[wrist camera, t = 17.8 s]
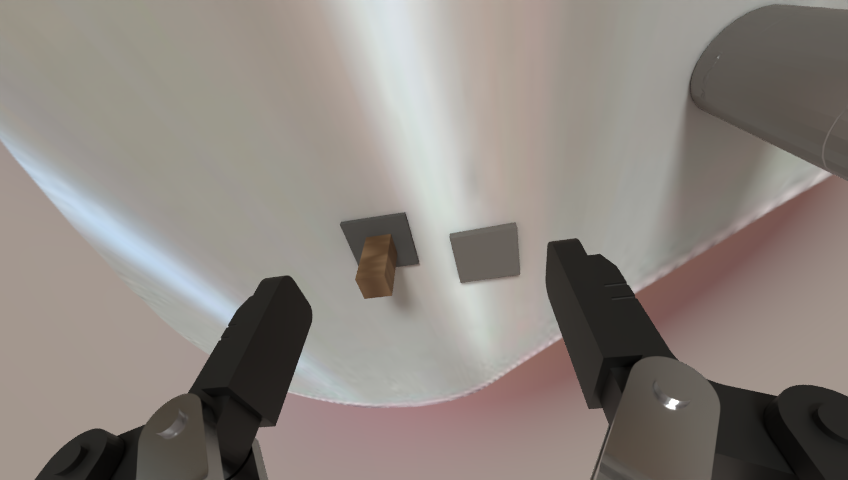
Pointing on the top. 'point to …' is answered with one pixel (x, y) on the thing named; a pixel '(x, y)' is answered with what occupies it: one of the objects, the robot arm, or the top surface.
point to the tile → (486, 252)
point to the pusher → (377, 267)
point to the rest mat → (382, 226)
